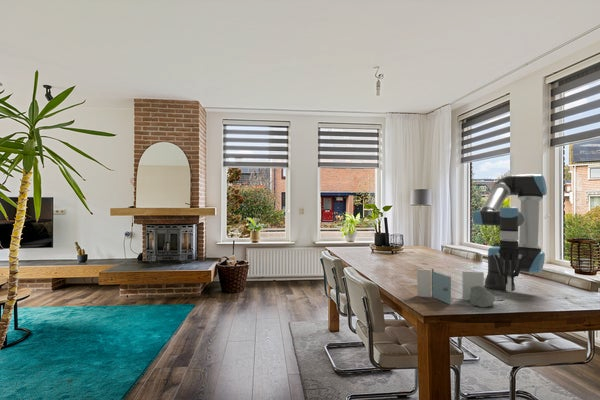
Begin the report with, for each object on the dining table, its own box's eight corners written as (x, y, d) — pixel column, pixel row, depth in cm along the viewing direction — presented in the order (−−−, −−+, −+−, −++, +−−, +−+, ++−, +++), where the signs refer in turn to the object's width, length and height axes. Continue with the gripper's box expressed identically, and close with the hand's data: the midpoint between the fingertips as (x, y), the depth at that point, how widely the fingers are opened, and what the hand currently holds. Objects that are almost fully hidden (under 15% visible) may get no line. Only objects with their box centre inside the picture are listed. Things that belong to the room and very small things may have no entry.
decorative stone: (479, 310, 157) (493, 292, 156) (460, 295, 166) (473, 279, 165) (490, 318, 164) (503, 302, 163) (471, 304, 173) (483, 289, 173)
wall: (483, 300, 172) (483, 271, 172) (483, 301, 171) (483, 271, 171) (417, 295, 181) (417, 267, 181) (417, 296, 180) (417, 268, 180)
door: (430, 297, 177) (430, 271, 177) (434, 296, 177) (434, 271, 177) (445, 304, 165) (445, 276, 165) (450, 303, 165) (450, 276, 165)
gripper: (522, 239, 163) (521, 290, 163) (491, 238, 167) (491, 288, 167) (527, 241, 156) (527, 294, 156) (495, 240, 160) (495, 291, 159)
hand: (508, 291), depth 161 cm, fingers closed
